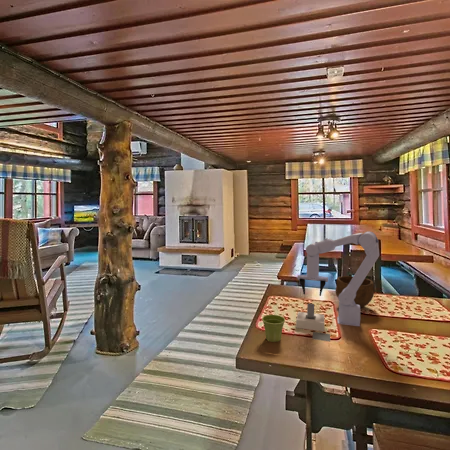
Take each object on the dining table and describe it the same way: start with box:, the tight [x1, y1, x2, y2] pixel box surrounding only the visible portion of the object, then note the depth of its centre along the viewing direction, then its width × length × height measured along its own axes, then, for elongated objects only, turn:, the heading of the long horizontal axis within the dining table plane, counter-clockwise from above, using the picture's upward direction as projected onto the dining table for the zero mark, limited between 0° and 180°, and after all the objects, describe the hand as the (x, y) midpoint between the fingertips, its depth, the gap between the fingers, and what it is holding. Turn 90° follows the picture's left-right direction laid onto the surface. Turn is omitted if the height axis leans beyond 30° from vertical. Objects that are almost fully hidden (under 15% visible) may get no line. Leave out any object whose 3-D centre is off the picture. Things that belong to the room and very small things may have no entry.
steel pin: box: [306, 302, 315, 319], centre depth 139 cm, size 3×3×10 cm
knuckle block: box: [295, 311, 325, 332], centre depth 139 cm, size 12×10×4 cm
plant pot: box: [261, 314, 286, 343], centre depth 126 cm, size 9×9×9 cm
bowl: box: [335, 275, 375, 308], centre depth 163 cm, size 19×19×15 cm
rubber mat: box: [312, 331, 331, 342], centre depth 128 cm, size 7×7×1 cm
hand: (312, 294), depth 151 cm, fingers open, 7 cm apart
